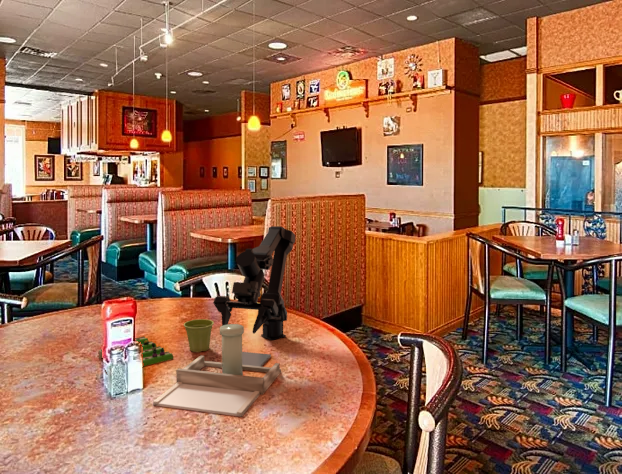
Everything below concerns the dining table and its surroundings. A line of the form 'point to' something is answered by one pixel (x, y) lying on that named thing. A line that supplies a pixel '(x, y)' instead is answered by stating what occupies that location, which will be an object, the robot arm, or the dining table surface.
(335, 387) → the dining table surface
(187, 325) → the plant pot
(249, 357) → the slate pad
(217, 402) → the frame lid
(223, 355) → the pale lidded canister
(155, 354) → the toy garden set
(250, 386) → the frame
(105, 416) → the dining table surface
